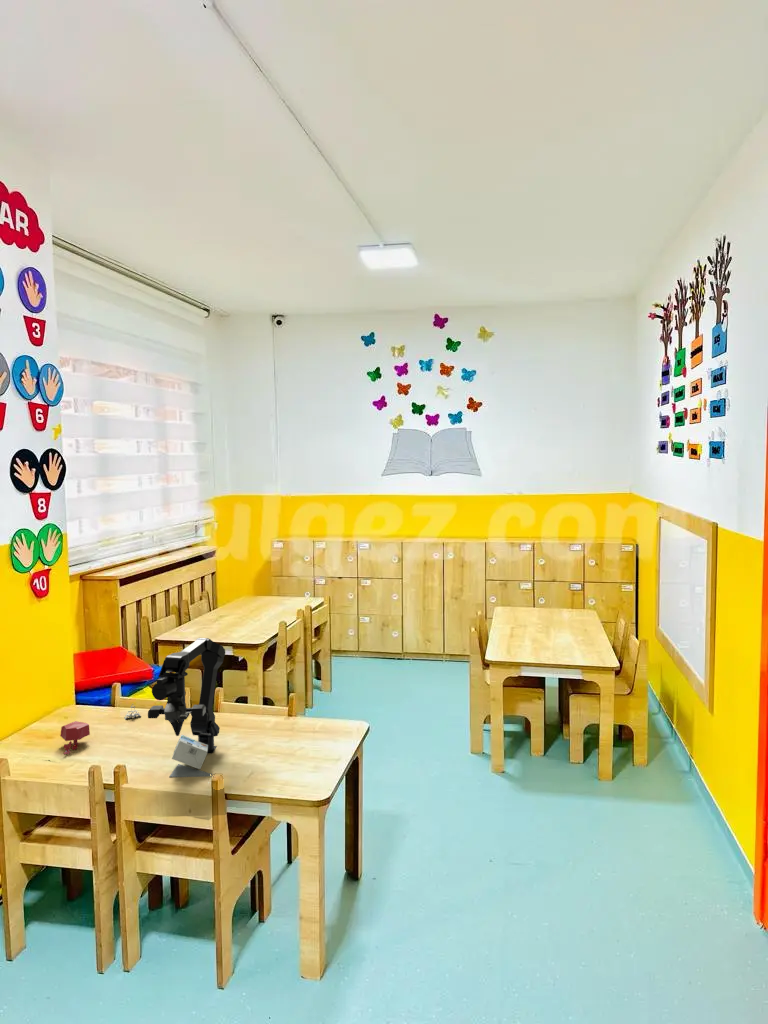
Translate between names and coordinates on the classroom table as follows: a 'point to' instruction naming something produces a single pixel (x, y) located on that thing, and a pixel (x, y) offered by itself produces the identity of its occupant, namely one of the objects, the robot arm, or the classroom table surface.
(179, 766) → the slate mat
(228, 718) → the classroom table surface
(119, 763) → the classroom table surface
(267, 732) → the classroom table surface
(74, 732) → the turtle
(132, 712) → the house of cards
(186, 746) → the light bulb box
